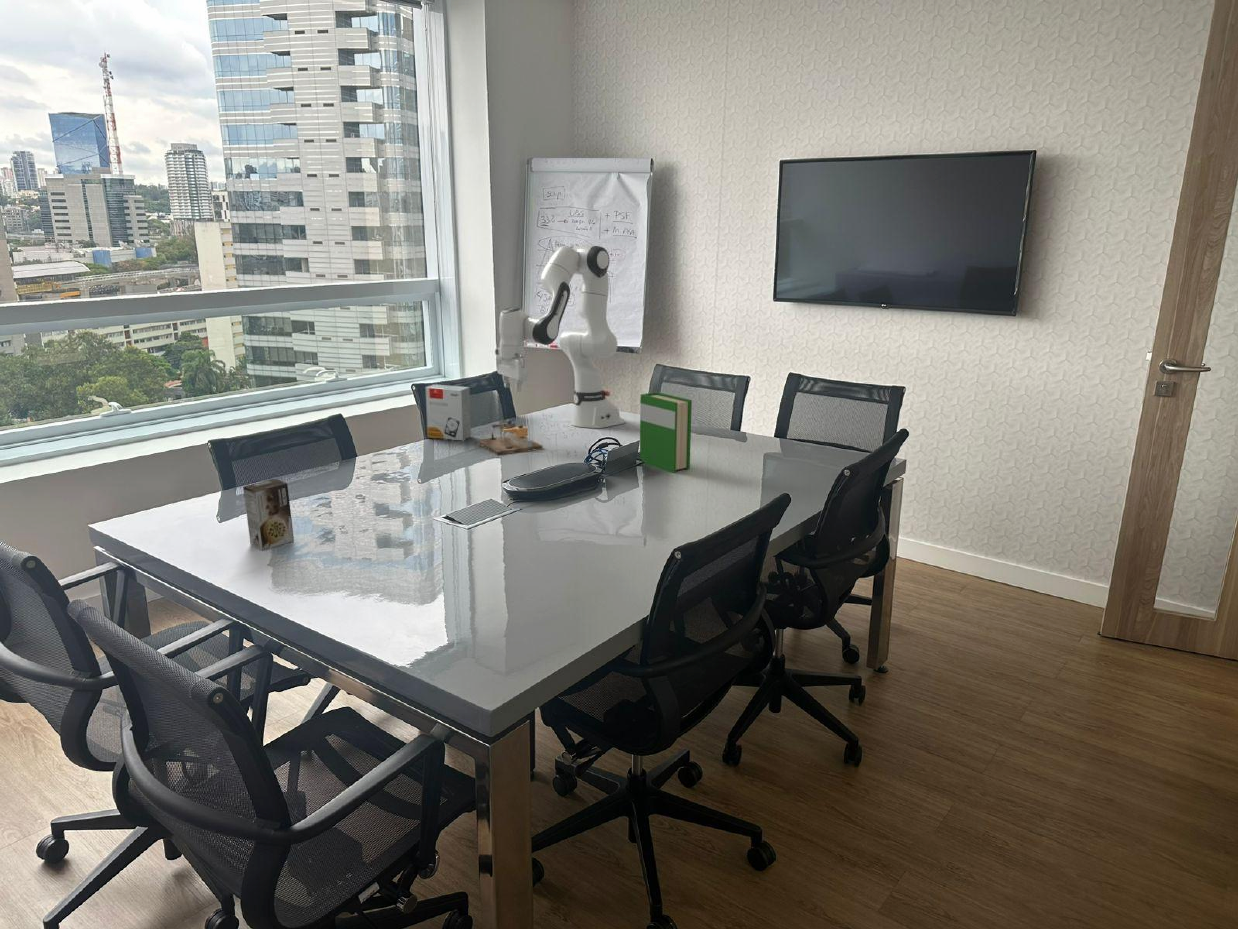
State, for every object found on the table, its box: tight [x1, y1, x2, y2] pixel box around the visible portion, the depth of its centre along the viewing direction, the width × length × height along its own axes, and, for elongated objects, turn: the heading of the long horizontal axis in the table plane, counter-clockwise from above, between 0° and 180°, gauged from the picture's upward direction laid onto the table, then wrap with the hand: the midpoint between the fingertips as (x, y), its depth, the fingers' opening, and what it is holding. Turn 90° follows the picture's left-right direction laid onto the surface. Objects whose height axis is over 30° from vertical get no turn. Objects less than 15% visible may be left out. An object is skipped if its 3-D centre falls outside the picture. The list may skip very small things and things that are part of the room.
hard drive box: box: [424, 383, 472, 442], centre depth 333 cm, size 16×8×20 cm, turn 73°
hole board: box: [475, 435, 543, 456], centre depth 323 cm, size 18×20×1 cm
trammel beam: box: [490, 419, 533, 447], centre depth 323 cm, size 9×19×6 cm, turn 30°
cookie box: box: [243, 478, 295, 552], centre depth 223 cm, size 9×6×16 cm
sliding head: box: [501, 424, 529, 443], centre depth 321 cm, size 9×4×6 cm, turn 120°
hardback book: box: [639, 391, 693, 474], centre depth 295 cm, size 18×7×24 cm, turn 39°
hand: (512, 389), depth 323 cm, fingers open, 8 cm apart
